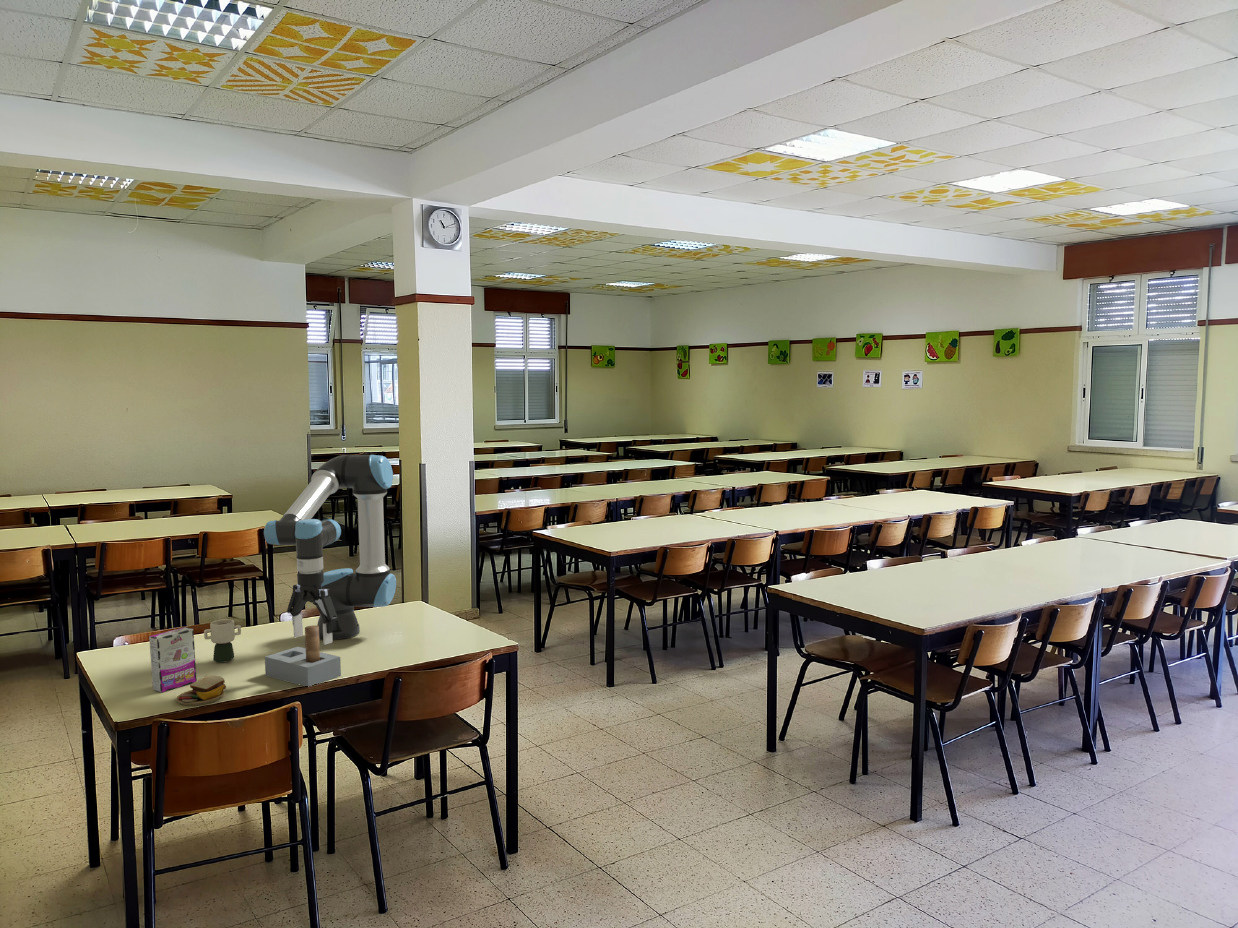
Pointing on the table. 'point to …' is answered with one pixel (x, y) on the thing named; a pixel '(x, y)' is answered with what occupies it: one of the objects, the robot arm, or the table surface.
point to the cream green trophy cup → (222, 638)
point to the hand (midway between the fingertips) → (313, 639)
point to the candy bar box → (172, 659)
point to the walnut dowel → (312, 644)
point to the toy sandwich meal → (203, 691)
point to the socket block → (302, 667)
